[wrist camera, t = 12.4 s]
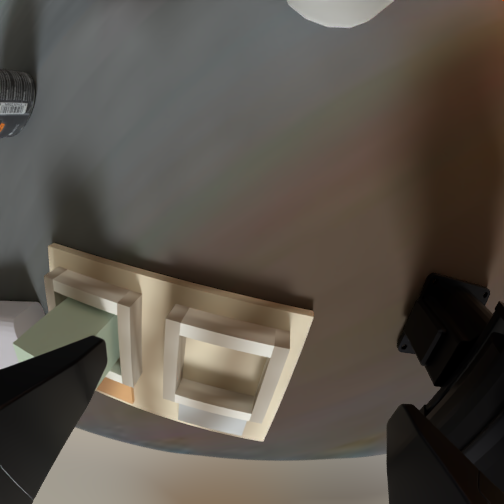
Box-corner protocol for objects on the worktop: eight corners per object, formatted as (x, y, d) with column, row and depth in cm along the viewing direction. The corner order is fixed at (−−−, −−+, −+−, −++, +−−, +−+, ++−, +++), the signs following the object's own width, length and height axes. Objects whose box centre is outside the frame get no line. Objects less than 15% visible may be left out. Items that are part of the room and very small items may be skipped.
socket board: (313, 310, 20) (315, 333, 17) (263, 435, 25) (261, 457, 22) (54, 242, 21) (32, 254, 18) (72, 373, 26) (59, 388, 23)
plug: (122, 307, 21) (62, 372, 13) (123, 351, 22) (76, 417, 15) (76, 290, 21) (12, 343, 13) (80, 334, 22) (28, 389, 15)
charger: (-21, 297, 26) (40, 298, 23) (6, 356, 28) (74, 373, 26) (-44, 313, 21) (10, 321, 19) (-13, 375, 24) (52, 400, 22)
